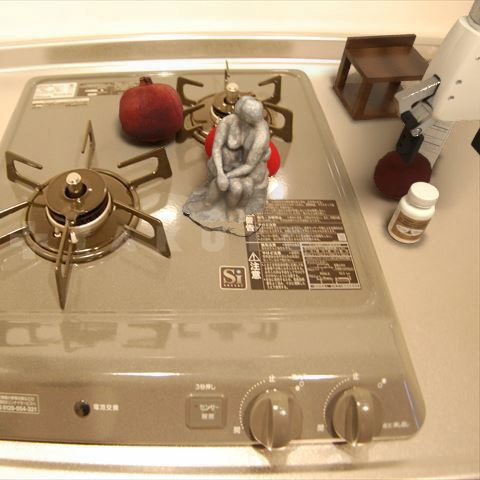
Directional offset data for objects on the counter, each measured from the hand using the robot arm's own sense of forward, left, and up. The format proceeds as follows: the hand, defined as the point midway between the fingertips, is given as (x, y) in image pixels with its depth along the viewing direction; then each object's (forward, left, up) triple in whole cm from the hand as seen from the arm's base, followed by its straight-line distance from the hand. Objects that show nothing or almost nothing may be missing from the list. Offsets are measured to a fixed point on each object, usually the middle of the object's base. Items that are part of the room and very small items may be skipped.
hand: (441, 154), depth 65 cm
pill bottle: (0, 0, -14) cm, 14 cm away
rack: (-9, -31, -14) cm, 35 cm away
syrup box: (-9, -15, -14) cm, 22 cm away
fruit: (+31, -23, -13) cm, 41 cm away
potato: (-2, -8, -14) cm, 16 cm away
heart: (+20, -14, -4) cm, 25 cm away
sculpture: (+29, -6, -5) cm, 30 cm away
